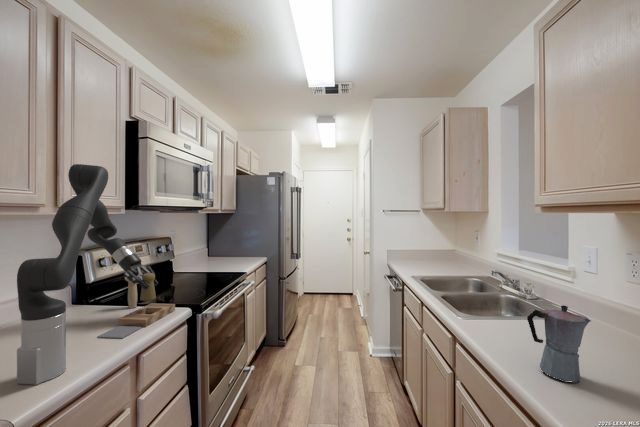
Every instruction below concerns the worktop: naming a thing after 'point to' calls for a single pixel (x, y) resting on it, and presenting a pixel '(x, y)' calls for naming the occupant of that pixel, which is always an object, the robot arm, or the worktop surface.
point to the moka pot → (560, 342)
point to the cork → (149, 292)
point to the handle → (132, 293)
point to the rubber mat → (119, 332)
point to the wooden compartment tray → (146, 315)
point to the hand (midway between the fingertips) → (152, 286)
